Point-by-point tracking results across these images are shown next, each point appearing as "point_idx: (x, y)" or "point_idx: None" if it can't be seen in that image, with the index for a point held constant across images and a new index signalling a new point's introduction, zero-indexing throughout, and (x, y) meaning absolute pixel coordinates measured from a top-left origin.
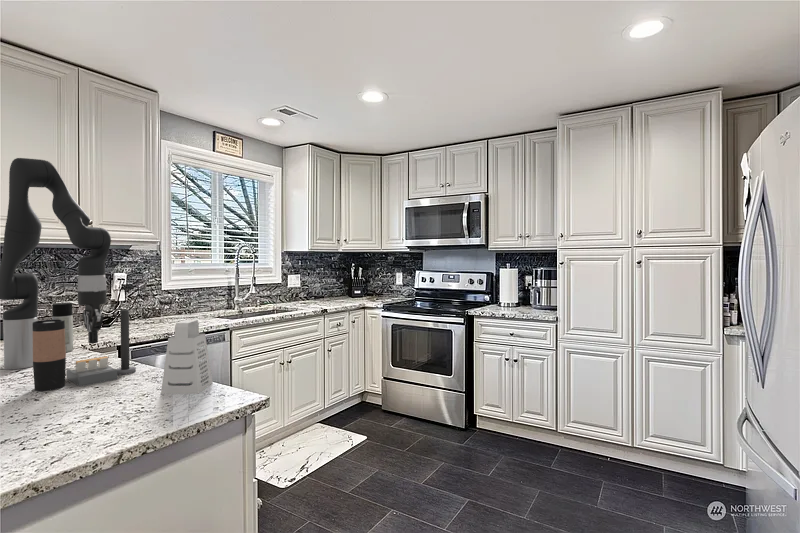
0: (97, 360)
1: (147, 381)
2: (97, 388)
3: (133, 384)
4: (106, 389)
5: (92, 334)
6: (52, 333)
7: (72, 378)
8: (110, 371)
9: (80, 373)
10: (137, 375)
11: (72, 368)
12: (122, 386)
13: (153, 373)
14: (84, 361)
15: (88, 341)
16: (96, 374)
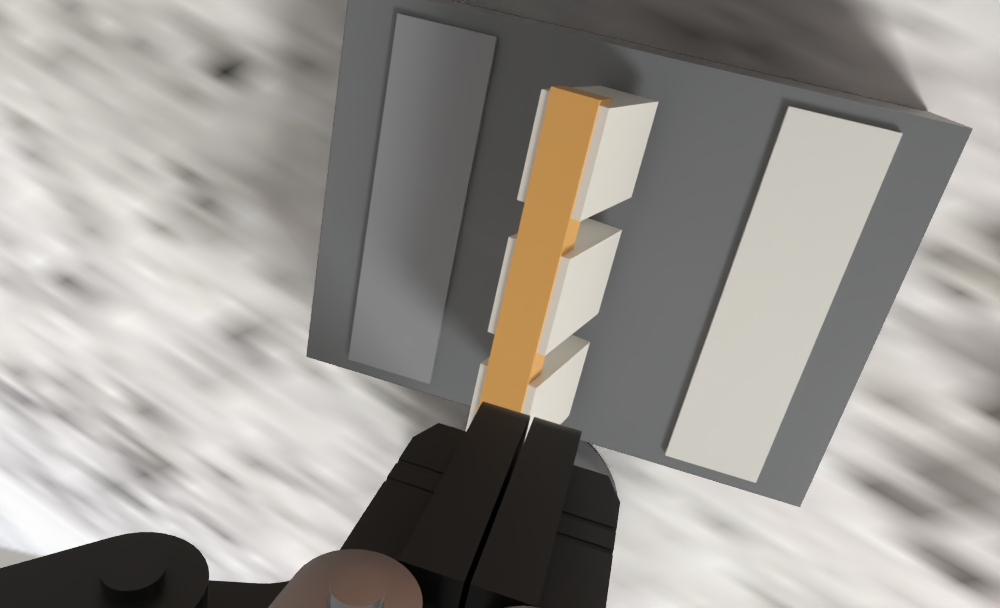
0: (501, 335)
1: (79, 368)
2: (185, 45)
3: (74, 268)
4: (90, 68)
5: (348, 537)
6: None
7: (660, 51)
8: (314, 295)
9: (480, 67)
10: (328, 463)
11: (881, 172)
12: (81, 191)
13: (279, 544)
14: (527, 185)
15: (568, 436)
16: (332, 163)
